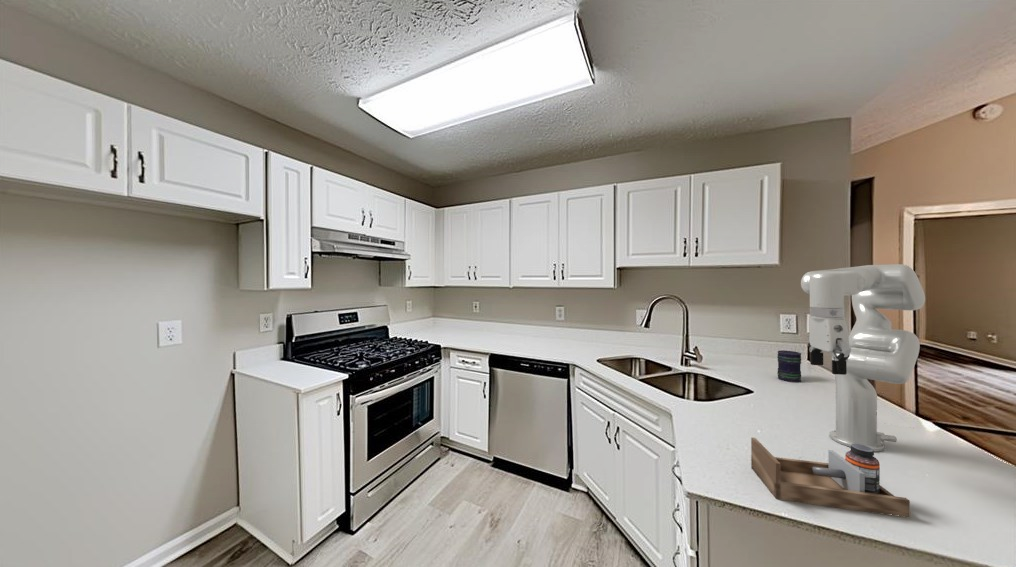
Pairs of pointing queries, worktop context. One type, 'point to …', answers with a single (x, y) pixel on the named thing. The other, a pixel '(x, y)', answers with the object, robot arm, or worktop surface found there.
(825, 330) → the robot arm
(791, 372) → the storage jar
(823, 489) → the pusher lane
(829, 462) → the pusher plate
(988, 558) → the worktop surface
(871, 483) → the supplement bottle
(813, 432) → the worktop surface
